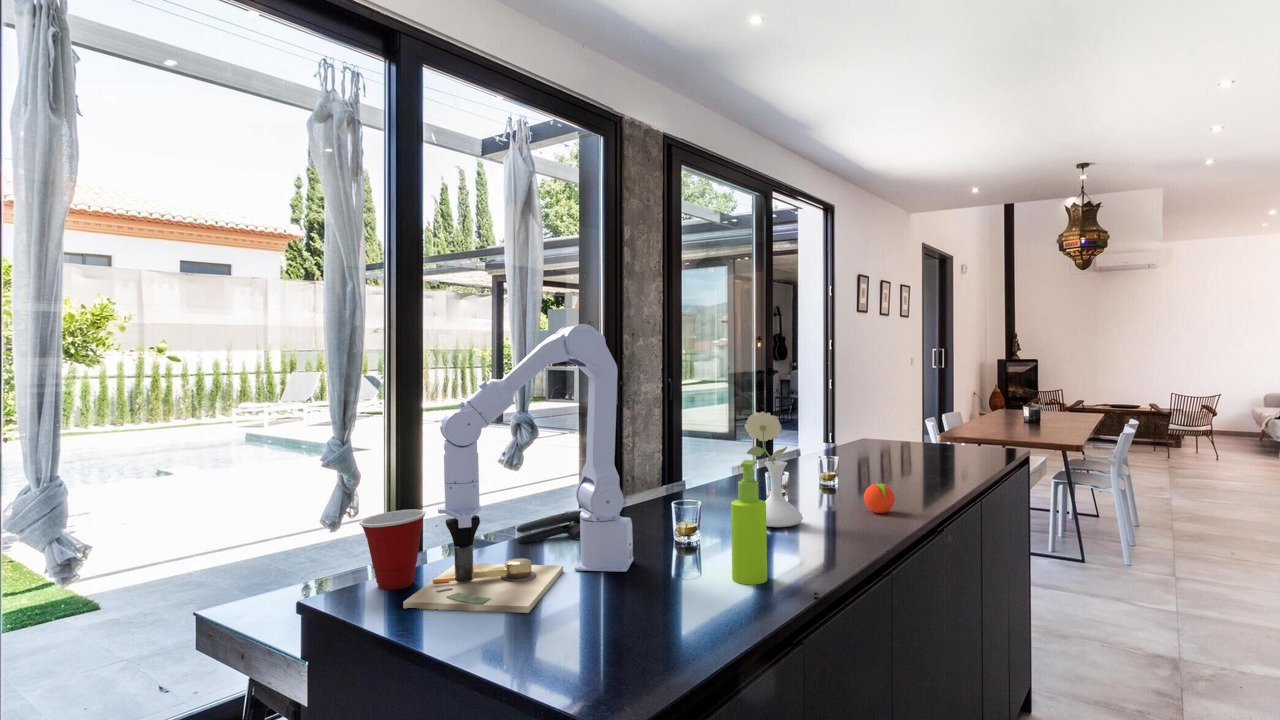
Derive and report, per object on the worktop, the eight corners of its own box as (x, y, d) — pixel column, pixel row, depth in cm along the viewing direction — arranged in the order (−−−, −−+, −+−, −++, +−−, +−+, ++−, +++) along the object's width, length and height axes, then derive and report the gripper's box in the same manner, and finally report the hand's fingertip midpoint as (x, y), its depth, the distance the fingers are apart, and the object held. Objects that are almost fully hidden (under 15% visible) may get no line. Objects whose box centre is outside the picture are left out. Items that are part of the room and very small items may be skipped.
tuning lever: (529, 568, 130) (529, 537, 130) (533, 576, 125) (532, 543, 125) (432, 578, 125) (431, 545, 125) (432, 586, 121) (431, 552, 121)
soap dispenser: (770, 573, 129) (769, 458, 129) (764, 585, 123) (762, 465, 123) (737, 570, 131) (735, 457, 131) (728, 582, 125) (727, 463, 125)
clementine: (900, 517, 170) (900, 486, 170) (870, 517, 170) (869, 486, 170) (889, 509, 178) (889, 479, 178) (860, 509, 178) (859, 480, 178)
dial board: (563, 571, 133) (563, 564, 133) (528, 612, 112) (528, 604, 112) (456, 568, 136) (456, 561, 136) (403, 608, 115) (403, 600, 115)
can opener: (592, 530, 163) (591, 505, 163) (603, 538, 157) (602, 511, 157) (512, 540, 156) (511, 513, 156) (520, 548, 150) (520, 520, 150)
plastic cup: (375, 575, 133) (373, 507, 132) (435, 574, 132) (434, 507, 132) (349, 595, 122) (347, 522, 122) (415, 594, 121) (413, 521, 121)
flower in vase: (810, 522, 166) (808, 410, 166) (791, 533, 157) (790, 415, 156) (756, 516, 173) (754, 408, 173) (735, 526, 164) (733, 413, 163)
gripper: (436, 475, 133) (438, 551, 133) (438, 490, 119) (440, 575, 119) (476, 473, 135) (478, 548, 135) (483, 487, 121) (485, 570, 121)
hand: (463, 560), depth 127 cm, fingers closed
